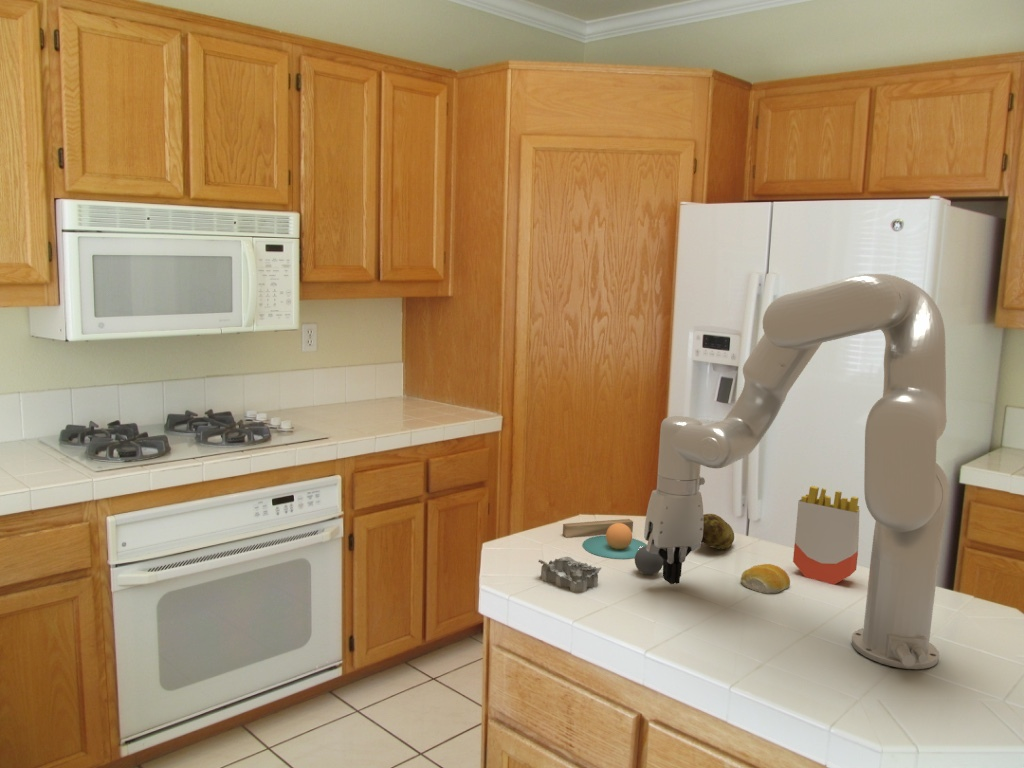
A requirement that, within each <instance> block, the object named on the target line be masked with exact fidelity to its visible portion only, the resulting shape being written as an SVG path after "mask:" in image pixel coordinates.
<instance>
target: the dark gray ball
mask: <svg viewBox="0 0 1024 768" xmlns="http://www.w3.org/2000/svg"><path fill="white" fill-rule="evenodd" d="M646 547H647V546H644V547H642V548H640V549H639V550H638V551H637V553H636V555H635V558H634V564H635V567H636V569H637V570H638V571H639V572H640V573H642V574H644V575H646V576H651V575H652V576H653V575H655V574H658V573H659V572H660V571H661V569H663V559H662V558H661V556H660V555H659V554H652V553H649V552H648V551H647V550H646Z"/></svg>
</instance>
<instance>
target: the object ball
mask: <svg viewBox="0 0 1024 768" xmlns="http://www.w3.org/2000/svg"><path fill="white" fill-rule="evenodd" d="M632 538H633V532H631V530H630V528H629V527H628V526H627V525H625V524H622V523H615V524H613V525H611V526H610V527H609V528H608V530H607V532H606V540H607V543H608V544H609V545H610V546H611V547H612V548H614V549H617V550H622V549H625V548H627V547H628V546H629V545H630V543H631V541H632Z"/></svg>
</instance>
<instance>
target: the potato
mask: <svg viewBox="0 0 1024 768" xmlns="http://www.w3.org/2000/svg"><path fill="white" fill-rule="evenodd" d="M703 516H704V525H703V537H702V541H701V542H700V544H705V545H706V546H707V547H710V548H714V549H717V550H726V549H728V548H730V547H731V546H732V544H734V541H735V532H734V530H733V528H732V526H731V525H730V524H729V523H728V522H727V521H725V519H724V518H722V517H721V516H719V515H717V514H714V513H706V514H704V513H703Z"/></svg>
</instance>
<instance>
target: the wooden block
mask: <svg viewBox="0 0 1024 768" xmlns="http://www.w3.org/2000/svg"><path fill="white" fill-rule="evenodd" d="M615 523H622V524H625V525H627V526H628V527H629V528H630V530H631V532H632V533H633V531H634V528H633V527H634V521H633V520H632V519H630V518H624V519H621V518H620V519H610V520H598V521H597V520H596V521H582V522H570V523H566V522H565V523H563V524H562V535H563V537H565V538H566V539H567V538H568V539H569V538H579V537H581V538H582V537H590V536H591V537H592V536H593V537H595V536H604V535H606V532H607V530H608V528H609V527H610V526H611V525H613V524H615Z"/></svg>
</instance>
